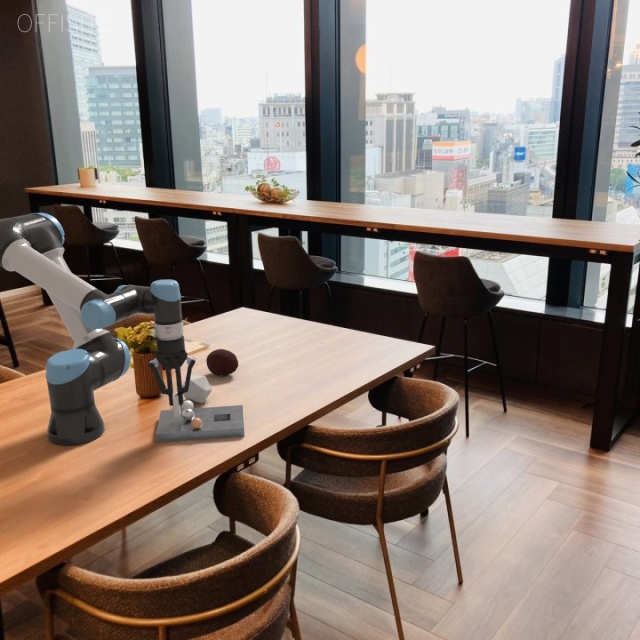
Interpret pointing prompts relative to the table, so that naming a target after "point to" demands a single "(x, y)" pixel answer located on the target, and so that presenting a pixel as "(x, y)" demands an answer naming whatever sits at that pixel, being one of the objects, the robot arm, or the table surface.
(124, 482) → the table surface
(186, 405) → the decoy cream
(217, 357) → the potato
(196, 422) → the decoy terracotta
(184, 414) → the steel ball
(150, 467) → the table surface
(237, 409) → the grey board with recess
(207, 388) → the die
